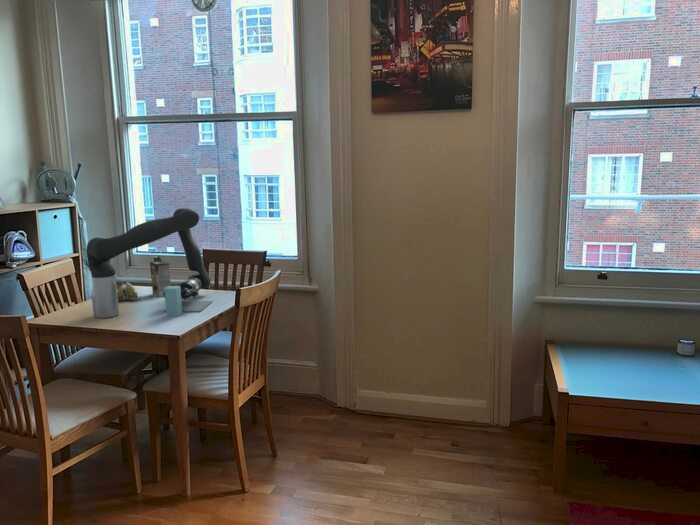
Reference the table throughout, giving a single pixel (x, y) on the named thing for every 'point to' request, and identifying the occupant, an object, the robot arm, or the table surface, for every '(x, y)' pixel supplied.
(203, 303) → the rubber mat
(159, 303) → the table surface
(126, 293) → the ceramic sculpture
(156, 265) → the coffee box
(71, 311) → the table surface
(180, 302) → the card box
